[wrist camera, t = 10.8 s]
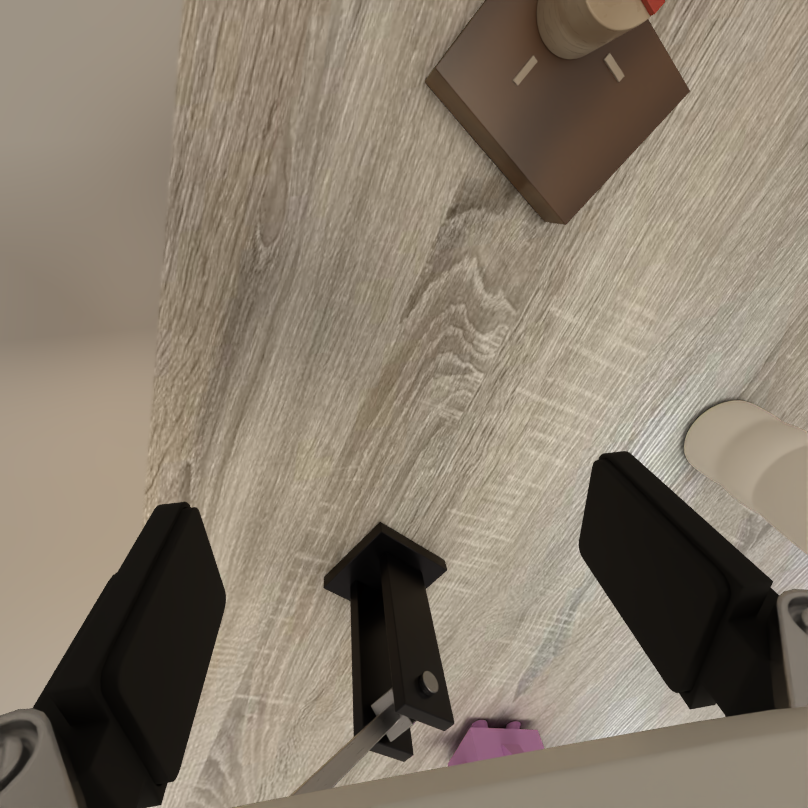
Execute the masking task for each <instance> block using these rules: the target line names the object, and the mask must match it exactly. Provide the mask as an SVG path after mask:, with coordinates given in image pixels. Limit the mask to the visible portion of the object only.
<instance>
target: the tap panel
mask: <svg viewBox="0 0 808 808" xmlns="http://www.w3.org/2000/svg"><path fill="white" fill-rule="evenodd" d="M537 4H538V0H485V1H484V3H483V4H482V5H481V7H480V8H479V9H478V11H477V12H476V13H475V15H474V16H473V17H472V19H471V20H470V21H469V23H468V24H467V25H466V27H465V28H464V29H463V31H462V32H461V33H460V35H459V36H458V37H457V39H456V40H455V41H454V43H453V44H452V45H451V47H450V48H449V49H448V51H447V52H446V53H445V55H444V56H443V57H442V59H441V60H440V61H439V63H438V64H437V65H436V67H435V68H434V69H433V71H432V72H431V73H430V75H429V76H428V77H427V78H426V80H425V83H426V84H427V85H428V86H429V87H430V88H431V90H432V91H433V92H434V93H435V94H436V95H437V97H438V98H439V99H440V100H441V101H442V102H443V104H444V105H445V106H446V107H447V108H448V109H449V111H450V112H451V113H452V114H453V115H454V116H455V118H456V119H457V120H458V121H459V122H460V123H461V125H462V126H463V127H464V128H465V129H466V130H467V132H468V133H469V134H470V135H471V136H472V137H473V139H474V140H475V141H476V142H477V143H478V145H479V146H480V147H481V148H482V149H483V150H484V152H485V153H486V154H487V155H488V156H489V157H490V159H491V160H492V161H493V162H494V163H495V164H496V166H497V167H498V168H499V169H500V170H501V171H502V173H503V174H504V175H505V176H506V177H507V178H508V180H509V181H510V182H511V183H512V184H513V185H514V187H515V188H516V189H517V190H518V191H519V192H520V194H521V195H522V196H523V197H524V198H525V199H526V201H527V202H528V203H529V204H530V205H531V206H532V208H533V209H534V210H535V211H536V212H537V213H538V215H539V216H540V217H541V218H542V219H543V220H544V222H550V223H557V224H564V225H566V224H567V223H568V222H569V221H570V220H571V219H572V218H573V216H574V215H575V214H576V213H577V212H578V211H579V210H580V209H581V208H582V207H583V206H584V205H585V204H586V203H587V201H588V200H589V199H590V198H591V197H592V196H593V195H594V194H595V193H596V192H597V191H598V190H599V189H600V187H601V186H602V185H603V184H604V183H605V182H606V181H607V180H608V179H609V178H610V177H611V176H612V175H613V173H614V172H615V171H616V170H617V169H618V168H619V167H620V166H621V165H622V164H623V163H624V162H625V161H626V160H627V158H628V157H629V156H630V155H631V154H632V153H633V152H634V151H635V150H636V149H637V148H638V147H639V146H640V144H641V143H642V142H643V141H644V140H645V139H646V138H647V137H648V136H649V135H650V134H651V133H652V132H653V131H654V129H655V128H656V127H657V126H658V125H659V124H660V123H661V122H662V121H663V120H664V119H665V118H666V117H667V115H668V114H669V113H670V112H671V111H672V110H673V109H674V108H675V107H676V106H677V105H678V104H679V103H680V101H681V100H682V99H683V98H684V97H685V96H686V95H687V94H688V93H689V92H690V90H689V89H688V87H687V85H686V83H685V82H684V80H683V78H682V77H681V75H680V73H679V71H678V70H677V68H676V66H675V65H674V63H673V61H672V59H671V58H670V56H669V54H668V53H667V51H666V49H665V47H664V46H663V44H662V42H661V41H660V39H659V37H658V35H657V34H656V32H655V30H654V29H653V27H652V25H651V23H650V22H649V20H648V19H647V20H646V21H645V22H643V23H642V24H640V25H639V26H637V27H635V28H633V29H632V30H630V31H628V32H626V33H625V34H623V35H621V36H619V37H617V38H616V39H614V40H612V41H610V42H608V43H607V44H605V45H603V46H601V47H600V48H598V49H596V50H594V51H592V52H591V53H589V54H587V55H585V56H583V57H581V58H577V59H564V58H560V57H558V56H556V55H555V54H553V53H552V52H551V51H550V50H549V49H548V48H547V47H546V45H545V44H544V42H543V40H542V38H541V36H540V33H539V29H538V24H537Z"/></svg>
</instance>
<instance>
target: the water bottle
mask: <svg viewBox="0 0 808 808" xmlns="http://www.w3.org/2000/svg"><path fill="white" fill-rule="evenodd" d="M684 453H685V456H686V459H687V460H688V462H689V463H690V464H691V465H692V466H693V467H694V468H695V469H696V470H698V471H699V472H700V473H702V474H703V475H705V476H706V477H707V478H709V479H710V480H712V481H714V482H715V483H717V484H719V485H721V486H722V487H723V488H724V489H725V490H726V491H727V492H728V493H729V494H730V495H731V496H732V497H733V498H735V499H736V500H737V501H738V502H740V503H741V504H742V505H744V506H745V507H747V508H749V509H750V510H752V511H754V512H756V513H758V514H760V515H761V516H762V517H763V518H764V519H765V520H766V521H767V522H768V523H770V524H771V525H772V526H773V527H774V528H775V529H776V530H777V531H779V532H780V533H781V534H782V535H783V536H785V537H786V538H787V539H788V540H789V541H791V542H792V543H793V544H794V545H796V546H797V547H798V548H799V549H801V550H802V551H803V552H804V553H806V554H807V555H808V432H807V431H805V430H803V429H800V428H798V427H796V426H793V425H790V424H787V423H784V422H783V421H782V420H780V419H779V418H777V417H776V416H774V415H773V414H771V413H769V412H768V411H766V410H764V409H762V408H760V407H758V406H756V405H754V404H752V403H750V402H746V401H740V400H735V401H728V402H724V403H721V404H718V405H716V406H714V407H712V408H710V409H709V410H707V411H706V412H704V413H703V414H702V415H701V416H700V417H699V418H697V420H696V421H695V422H694V423H693V424H692V426H691V427H690V429H689V431H688V433H687V435H686V438H685V442H684Z"/></svg>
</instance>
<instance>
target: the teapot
mask: <svg viewBox="0 0 808 808" xmlns="http://www.w3.org/2000/svg"><path fill="white" fill-rule="evenodd" d="M520 725H521V723H520V722H518V721H513V722H510V723H509V724H507V725H506V729H502V728H488V724H487V721H485V720H478V721H475V722H474V723H473V724H472V727H470V729H469V730H468V732H467V733H466V735H465V737H464V738H463V740H462V742H461V743H460V745H459V746H458V748H457V750H456V751H455V753H454V755H453V756H452V758H451V759H450V761H449V763H448V766H453V765H459V764H464V763H470V762H475V761H480V760H486V759H491V758H497V757H502V756H508V755H513V754H519V753H524V752H530V751H535V750H540V749H544V746H543V743H542V741H541V738H540V735H539V733H538V730H528V729H520Z"/></svg>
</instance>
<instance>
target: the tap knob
mask: <svg viewBox="0 0 808 808" xmlns="http://www.w3.org/2000/svg"><path fill="white" fill-rule="evenodd" d="M664 2H665V0H538V4H537V24H538V29H539V33H540V36H541V38H542V40H543V42H544V44H545V45H546V47H547V48H548V49H549V50H550V51H551V52H552V53H553V54H555V55H556V56H558V57H560V58H564V59H577V58H581V57H583V56H585V55H587V54H589V53H591V52H592V51H594V50H596V49H598V48H600V47H601V46H603V45H605V44H607V43H608V42H610V41H612V40H614V39H616V38H617V37H619V36H621V35H623V34H625V33H626V32H628V31H630V30H632V29H633V28H635V27H637V26H639V25H640V24H642V23H643V22H645V21H646V20H647V19H648V18H650V17H651V16H652V15H653V14H655V13H656V12H657V11H658V9H659V8H660V7H661V6H662V5H663V4H664Z"/></svg>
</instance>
